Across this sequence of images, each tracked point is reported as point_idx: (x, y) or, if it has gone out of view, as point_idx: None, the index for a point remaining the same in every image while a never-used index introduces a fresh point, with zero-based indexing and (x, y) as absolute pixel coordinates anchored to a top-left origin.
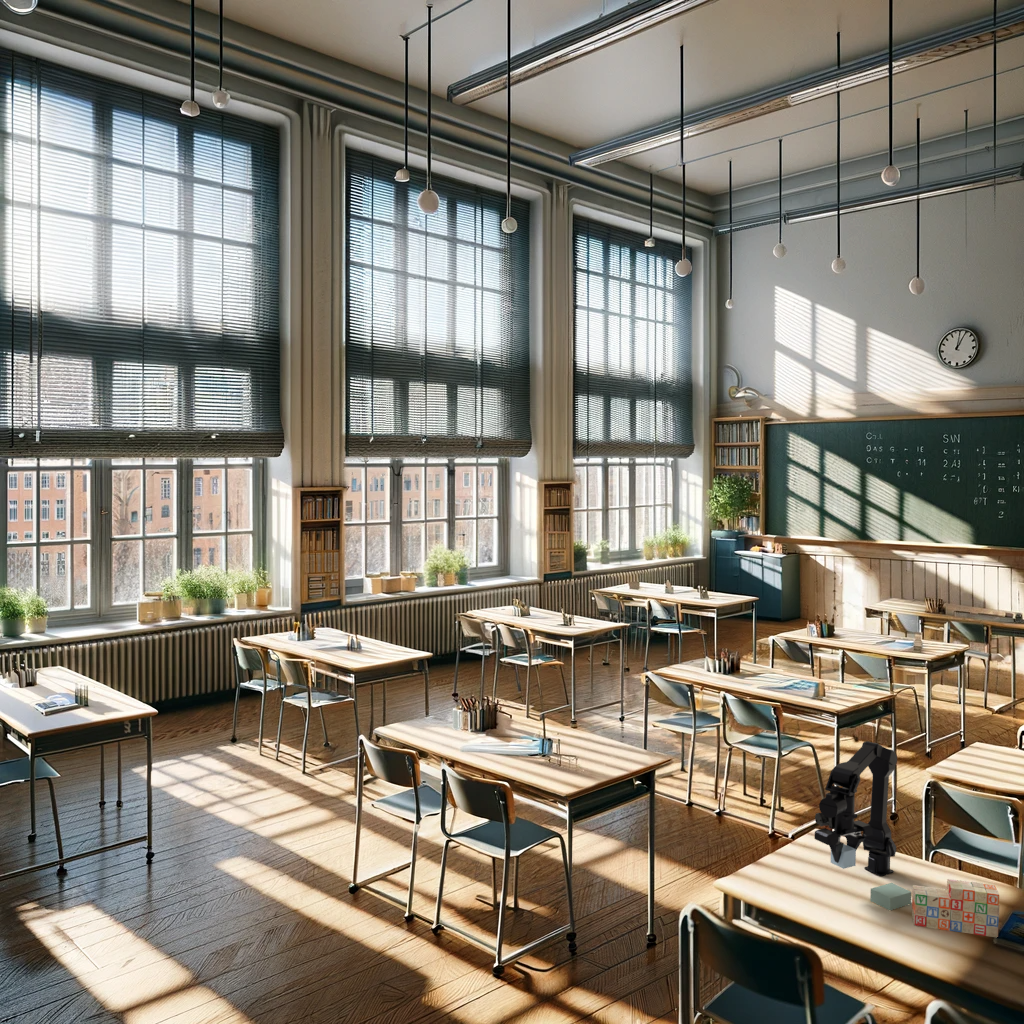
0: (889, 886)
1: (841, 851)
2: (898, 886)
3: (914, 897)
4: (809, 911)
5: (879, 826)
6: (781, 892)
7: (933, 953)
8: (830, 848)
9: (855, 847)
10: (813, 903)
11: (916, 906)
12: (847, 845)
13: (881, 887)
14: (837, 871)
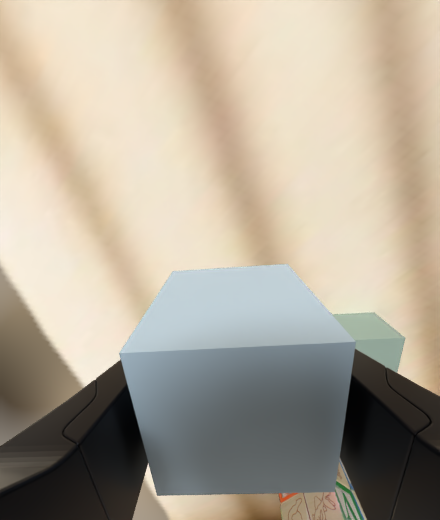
0: (367, 354)
1: (136, 489)
2: (394, 365)
3: (297, 516)
4: (61, 299)
5: None
6: (32, 151)
7: (207, 499)
8: (65, 403)
9: (356, 494)
10: (101, 265)
11: (281, 498)
12: (345, 406)
13: None
14: (390, 68)
